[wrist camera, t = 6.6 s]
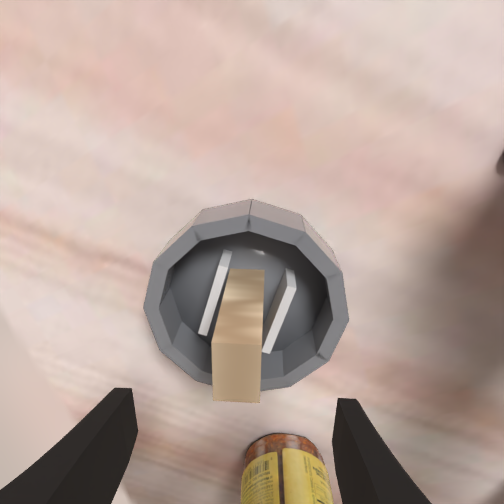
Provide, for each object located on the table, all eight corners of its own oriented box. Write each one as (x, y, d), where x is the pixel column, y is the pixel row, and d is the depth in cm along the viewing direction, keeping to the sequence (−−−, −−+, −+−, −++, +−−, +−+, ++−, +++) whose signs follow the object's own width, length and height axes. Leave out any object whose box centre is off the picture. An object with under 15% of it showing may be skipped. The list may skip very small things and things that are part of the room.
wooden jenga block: (264, 269, 20) (261, 345, 14) (262, 314, 22) (259, 403, 15) (230, 268, 21) (211, 342, 14) (230, 312, 22) (213, 400, 15)
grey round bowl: (365, 235, 20) (381, 255, 17) (300, 375, 24) (304, 410, 21) (183, 177, 19) (169, 189, 16) (147, 332, 23) (131, 362, 20)
